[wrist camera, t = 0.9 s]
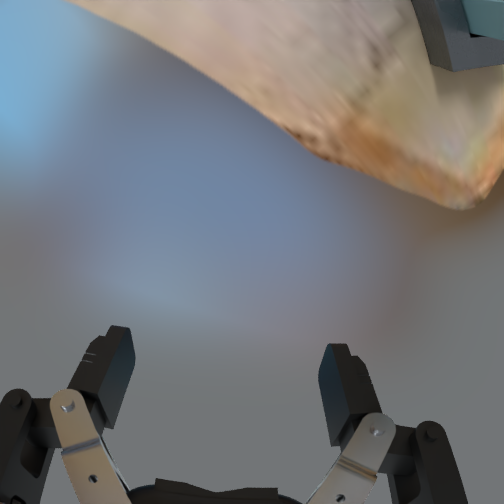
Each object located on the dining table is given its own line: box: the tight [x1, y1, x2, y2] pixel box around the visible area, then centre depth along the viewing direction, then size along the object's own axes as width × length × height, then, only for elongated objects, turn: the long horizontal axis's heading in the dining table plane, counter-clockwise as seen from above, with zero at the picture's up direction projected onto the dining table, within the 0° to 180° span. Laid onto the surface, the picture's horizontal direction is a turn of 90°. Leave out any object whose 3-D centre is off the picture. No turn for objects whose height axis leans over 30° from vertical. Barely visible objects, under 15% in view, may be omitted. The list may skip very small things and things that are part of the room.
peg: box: [460, 0, 504, 41], centre depth 17 cm, size 4×4×12 cm
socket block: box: [411, 0, 504, 72], centre depth 20 cm, size 12×12×5 cm
